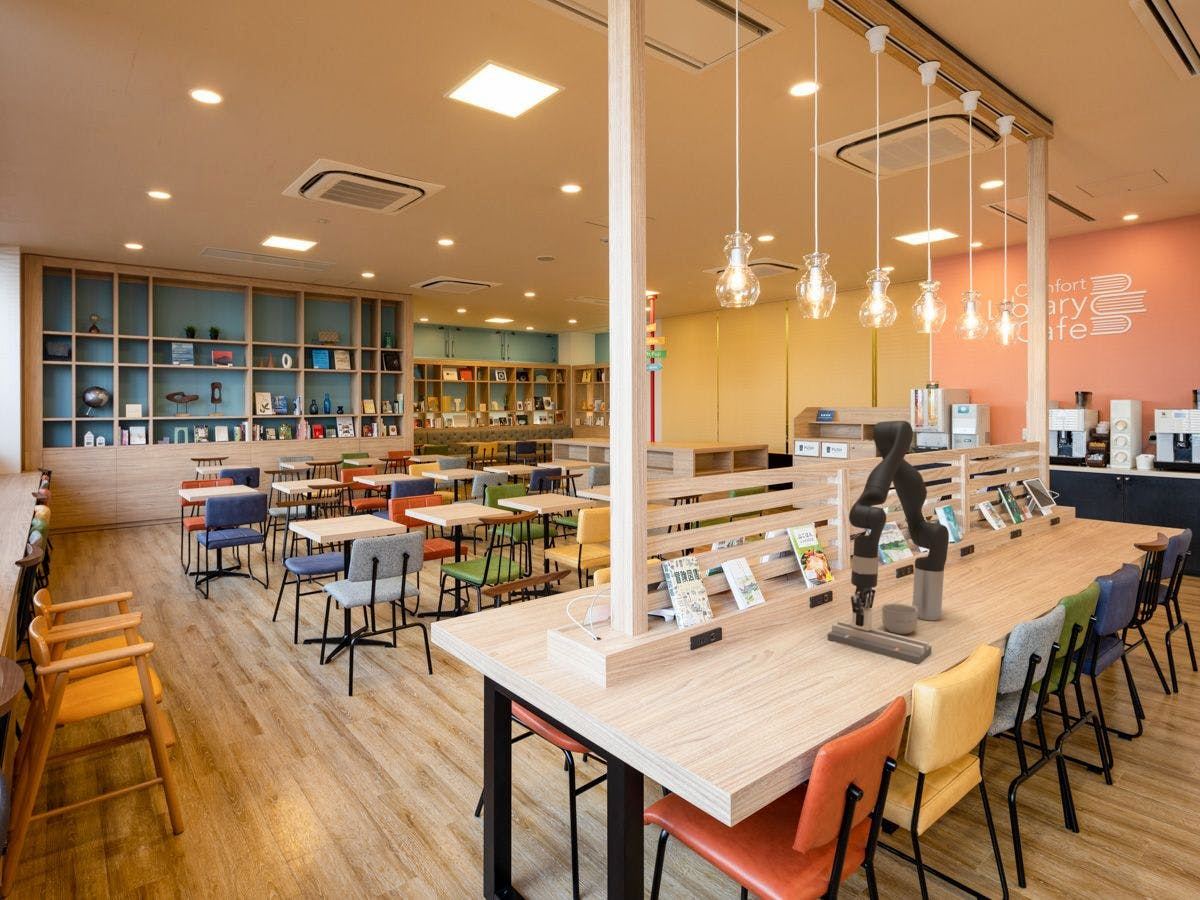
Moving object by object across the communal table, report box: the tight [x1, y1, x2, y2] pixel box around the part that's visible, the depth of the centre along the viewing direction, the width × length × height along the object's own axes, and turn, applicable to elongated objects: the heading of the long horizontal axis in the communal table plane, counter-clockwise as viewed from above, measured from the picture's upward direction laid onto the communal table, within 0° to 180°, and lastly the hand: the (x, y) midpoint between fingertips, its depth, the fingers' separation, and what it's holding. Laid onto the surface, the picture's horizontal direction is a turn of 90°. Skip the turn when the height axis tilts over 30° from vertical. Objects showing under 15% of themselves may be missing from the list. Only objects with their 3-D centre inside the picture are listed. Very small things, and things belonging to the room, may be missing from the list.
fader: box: [851, 608, 873, 632], centre depth 210 cm, size 3×5×8 cm, turn 47°
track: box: [827, 620, 932, 665], centre depth 207 cm, size 12×27×4 cm, turn 47°
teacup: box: [881, 603, 919, 635], centre depth 221 cm, size 14×11×8 cm
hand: (861, 624), depth 210 cm, fingers closed on fader, 3 cm apart
